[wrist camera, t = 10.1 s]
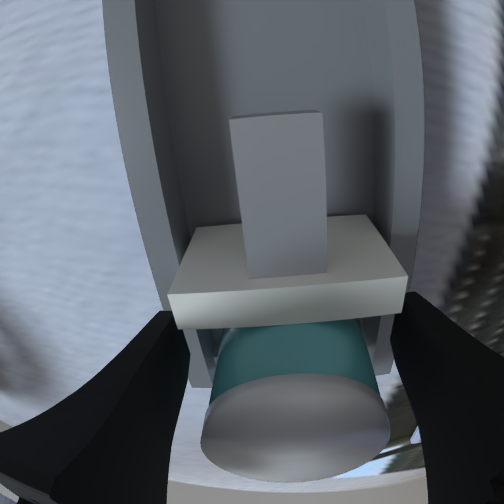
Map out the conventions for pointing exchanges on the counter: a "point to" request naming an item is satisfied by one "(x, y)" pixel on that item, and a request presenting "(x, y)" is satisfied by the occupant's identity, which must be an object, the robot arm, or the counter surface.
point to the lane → (265, 101)
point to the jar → (294, 402)
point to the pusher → (284, 241)
